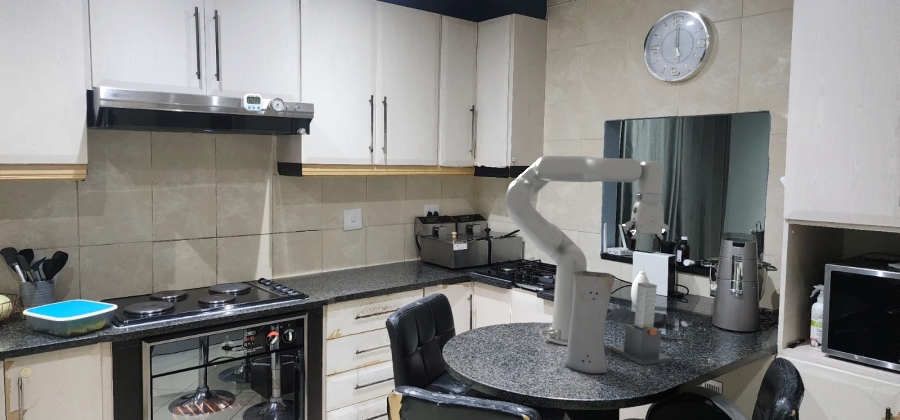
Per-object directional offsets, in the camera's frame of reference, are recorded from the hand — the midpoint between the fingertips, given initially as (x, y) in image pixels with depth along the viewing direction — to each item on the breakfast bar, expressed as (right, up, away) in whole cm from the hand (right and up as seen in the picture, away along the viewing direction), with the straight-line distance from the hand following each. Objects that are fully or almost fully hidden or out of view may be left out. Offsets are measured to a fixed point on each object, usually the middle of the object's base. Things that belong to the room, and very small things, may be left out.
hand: (643, 250), depth 199 cm
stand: (-3, -33, -7) cm, 34 cm away
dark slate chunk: (+9, -31, +38) cm, 50 cm away
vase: (-23, -33, -21) cm, 45 cm away
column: (-3, -26, -8) cm, 27 cm away
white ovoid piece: (+18, -29, +63) cm, 72 cm away
